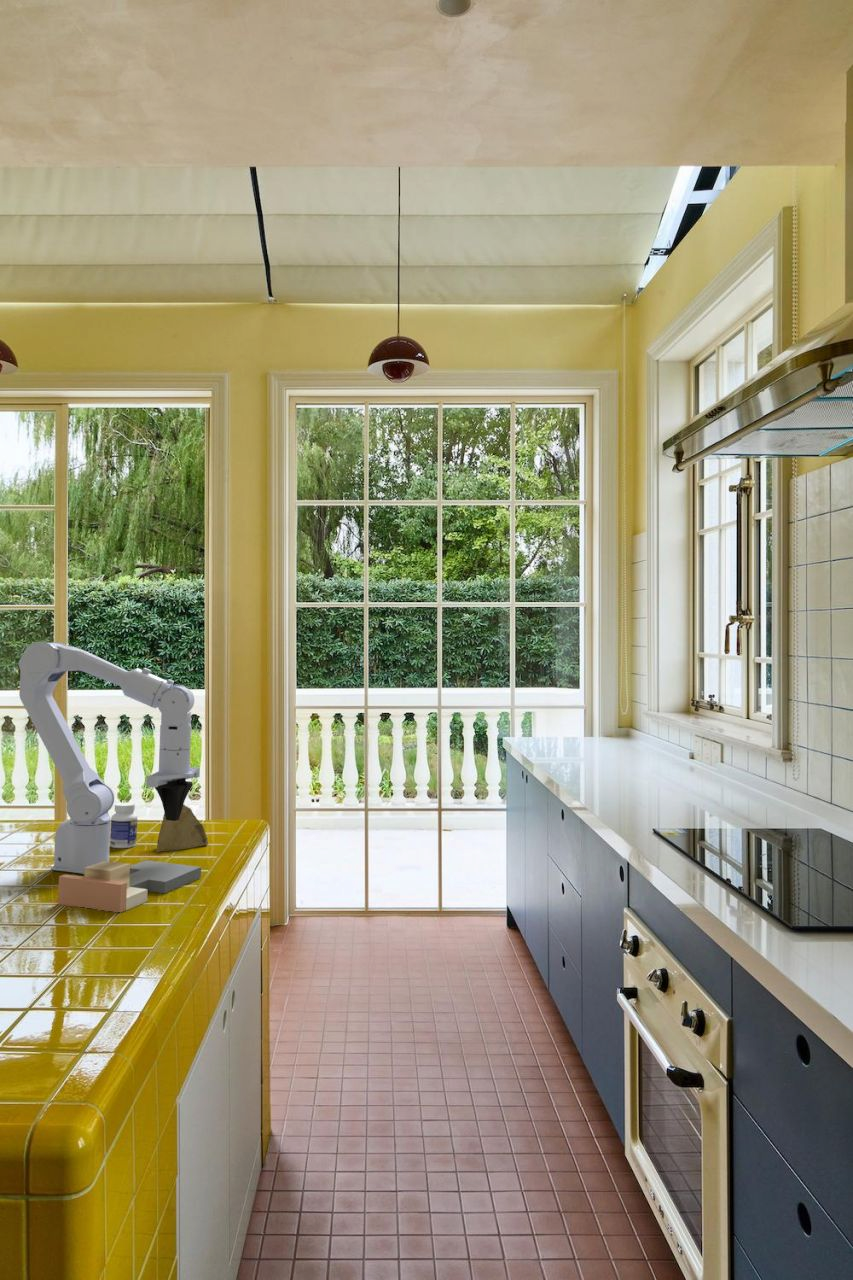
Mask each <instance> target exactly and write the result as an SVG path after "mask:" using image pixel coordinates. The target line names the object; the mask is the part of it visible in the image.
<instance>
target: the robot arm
mask: <svg viewBox="0 0 853 1280" xmlns="http://www.w3.org/2000/svg"><path fill="white" fill-rule="evenodd" d="M18 667H19V671H20V677H19V692H18V693H19V698H20V701H21V703H22V705H23V707H24V708H25V711H26V712H27V714H28V717H29V719H30V720H31V722H32V724H33V726H34V727H35V730H36V731H37V734H38V735H39V737H40V739H41V741H42V743H43V745H44V748H45V749H46V750H47V753H48V755H49V756H50V758H51V761H52V762H53V764H54V766H55V768H56V769H57V771H58V773H59V776H60V777H61V780H62V794H63V796H64V798H65V801H66V812H67V814H68V817H69V819H66V820H64V821H62V822H61V823H60V824H59V825H58V827H57V829H56V831H55V834H54V835H55V836H54V858H53V859H54V860H53V866H51V867H50V870H53V871H59V872H67V873H75V874H83V875H85V867H88V866H91V865H94V864H97V863H100V862H103V861H110V848H111V846H110V835H111V816H110V814H109V811H110V810H111V809H112V807H113V806H114V803H115V794H114V791H113V789H112V788H111V787H110V785H107V784H106V783H105V782H104V781H102V779H101V777H100V775H99V774H98V773H97V772H96V771H95V770H93V768H91V767H90V764H89V763H88V761H87V759H86V757H85V755H84V753H83V751H82V750H81V748H80V745H79V744H78V741H77V740H76V738H75V737H74V734H73V732H72V731H71V728H70V727H69V725H68V723H67V720H66V719H65V717H64V715H63V714H62V711H61V710H60V707H59V706H58V703H57V702H56V700H55V698H54V696H53V694H54V691H55V690H56V687H57V684H58V682H59V681H60V679H61V678H62V677H63V676H65V674H66V673H67V672H72V671H73V672H77V671H81V672H84V673H86V674H89V675H91V676H94V677H96V678H99V679H101V680H104V681H106V682H108V683H112V684H114V685H116V686H119V687H120V688H121V691H122V693H123V695H124V696H125V697H127V698H130V699H131V700H134V701H137V702H139V703H142V704H143V705H145V706H146V705H147V706H148V707H151V708H153V709H157V708H158V710H159V712H160V713H161V716H160V719H161V720H160V725H159V726H160V727H159V752H158V753H159V754H158V771H157V772H155V773H152V774H150V775H147V776H146V780H145V781H146V783H145V787H147V788H155V790H156V792H157V794H158V796H159V798H160V801H161V804H162V806H163V812H164V813H165V817H166V820H171V821H176V820H179V818H180V815H181V811H182V807H183V805H185V801H186V799H187V796H188V794H189V792H190V791H191V789H192V787H193V782H192V781H188V779H196V778H197V779H198V778H200V773H201V768H200V767H196V766H190V765H191V747H192V746H191V744H192V743H191V741H192V712H191V710H192V709H193V707H194V706H195V705H194V704H195V697H194V694H193V692H192V691H191V689H190V688H188V687H186V686H185V685H183V684H177V685H174V682H175V680H173V679H170V678H169V679H167V680H166V679H164V678H162V677H159V676H157V675H155V674H153V673H152V670H151V669H149V668H147V667H143V668H142V669H141V668H133V669H131V670H126V669H124V668H122V667H120V666H118V665H116V664H114V663H112V662H110V661H107V660H106V659H104V658H102V657H99V656H98V655H95V654H93V653H90V652H89V651H87V650H85V649H81V648H78V647H76V646H75V647H74V646H70V645H67V644H65V643H64V642H63V643H62V642H59V641H53V642H46V641H35V642H33V643H31V644H29V645H28V646H27V647H26V648H25V650H24V651H23V653H22V655H21V656H20V659H19V661H18Z"/></svg>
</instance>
